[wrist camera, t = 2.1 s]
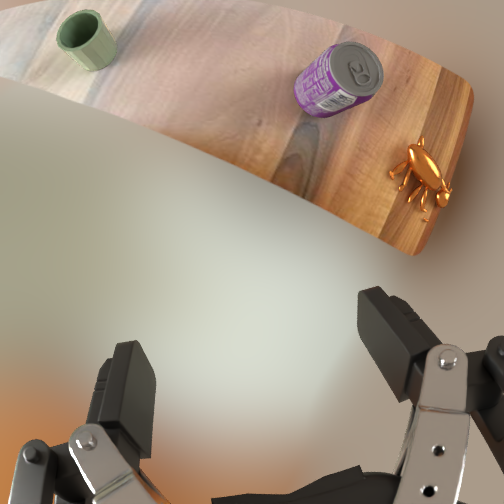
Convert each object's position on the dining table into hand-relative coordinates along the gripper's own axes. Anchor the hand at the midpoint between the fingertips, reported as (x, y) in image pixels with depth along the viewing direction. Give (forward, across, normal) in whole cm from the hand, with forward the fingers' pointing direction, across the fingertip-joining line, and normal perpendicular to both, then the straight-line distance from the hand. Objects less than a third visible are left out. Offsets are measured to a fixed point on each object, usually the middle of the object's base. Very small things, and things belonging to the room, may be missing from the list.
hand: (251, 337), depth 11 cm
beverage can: (+34, -15, -7) cm, 38 cm away
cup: (+35, +12, -20) cm, 42 cm away
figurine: (+30, -26, +11) cm, 41 cm away
